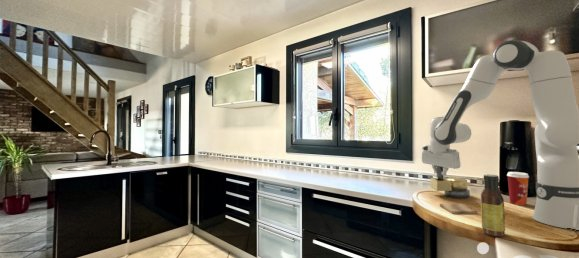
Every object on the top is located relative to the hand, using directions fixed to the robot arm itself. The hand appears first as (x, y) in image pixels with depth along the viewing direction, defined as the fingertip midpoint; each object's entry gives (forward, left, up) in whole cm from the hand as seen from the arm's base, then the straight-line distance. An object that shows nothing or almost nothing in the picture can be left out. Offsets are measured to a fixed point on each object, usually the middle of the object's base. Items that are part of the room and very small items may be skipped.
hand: (440, 174), depth 132 cm
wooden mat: (+4, +22, -11) cm, 25 cm away
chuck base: (-8, 0, -11) cm, 14 cm away
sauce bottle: (+6, +46, -11) cm, 48 cm away
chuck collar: (-5, 0, -8) cm, 9 cm away
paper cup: (-27, +14, -11) cm, 33 cm away
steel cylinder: (0, 0, -5) cm, 5 cm away
